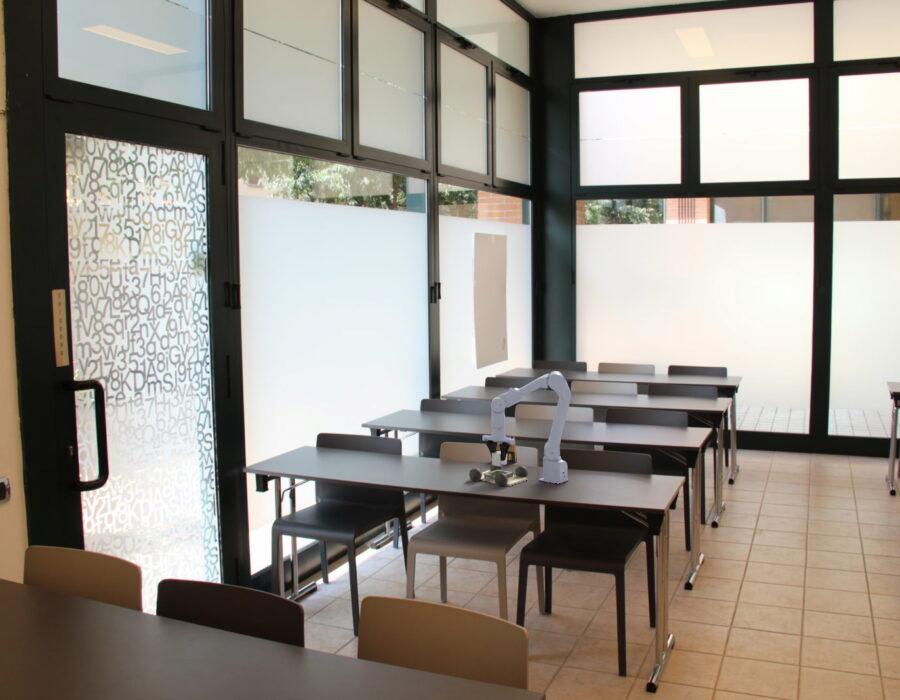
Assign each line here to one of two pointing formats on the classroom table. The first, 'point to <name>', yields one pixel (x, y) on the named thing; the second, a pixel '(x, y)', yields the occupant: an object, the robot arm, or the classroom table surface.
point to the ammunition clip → (509, 452)
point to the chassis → (500, 475)
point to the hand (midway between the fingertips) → (498, 459)
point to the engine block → (498, 459)
